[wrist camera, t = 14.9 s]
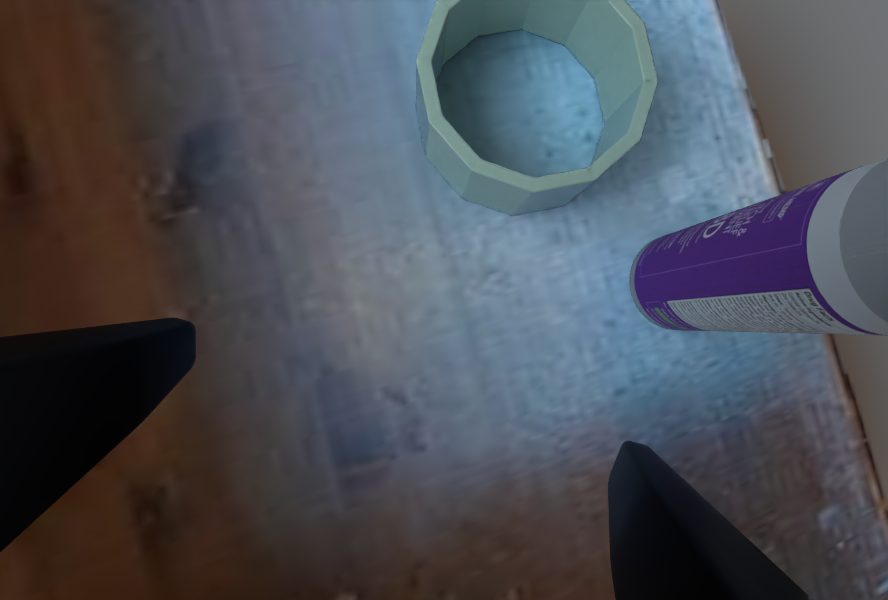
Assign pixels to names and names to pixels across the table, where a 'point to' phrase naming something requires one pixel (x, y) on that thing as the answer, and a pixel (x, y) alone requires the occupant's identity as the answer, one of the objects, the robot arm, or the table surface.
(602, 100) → the pale green faceted ring
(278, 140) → the table surface
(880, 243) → the container
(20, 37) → the table surface
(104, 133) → the table surface
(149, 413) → the robot arm
